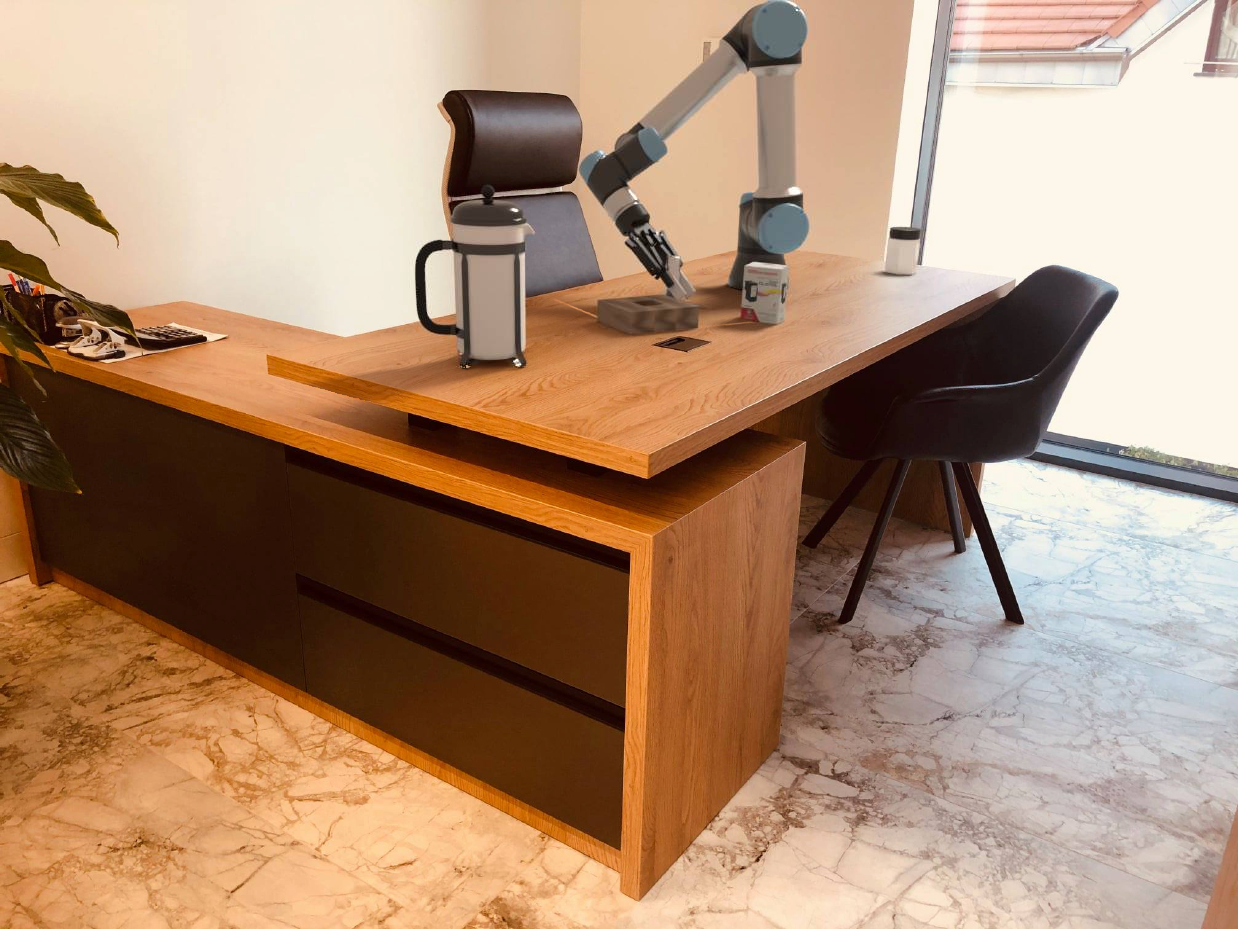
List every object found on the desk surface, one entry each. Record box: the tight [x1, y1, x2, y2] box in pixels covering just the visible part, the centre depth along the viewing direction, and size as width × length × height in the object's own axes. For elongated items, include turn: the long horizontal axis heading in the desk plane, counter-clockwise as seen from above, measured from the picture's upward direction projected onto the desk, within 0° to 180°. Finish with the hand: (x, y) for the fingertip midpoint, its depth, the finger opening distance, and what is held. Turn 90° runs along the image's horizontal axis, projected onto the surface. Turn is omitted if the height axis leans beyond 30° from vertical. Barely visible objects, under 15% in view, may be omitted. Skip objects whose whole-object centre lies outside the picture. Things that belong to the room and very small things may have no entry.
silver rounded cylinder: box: [664, 255, 682, 298], centre depth 224 cm, size 3×3×11 cm
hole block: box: [596, 293, 700, 336], centre depth 208 cm, size 16×14×4 cm
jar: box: [884, 226, 922, 276], centre depth 278 cm, size 9×8×12 cm
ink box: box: [740, 262, 790, 325], centre depth 213 cm, size 9×5×12 cm, turn 62°
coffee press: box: [414, 184, 536, 369], centre depth 172 cm, size 17×16×30 cm
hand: (686, 296), depth 222 cm, fingers closed on silver rounded cylinder, 3 cm apart
